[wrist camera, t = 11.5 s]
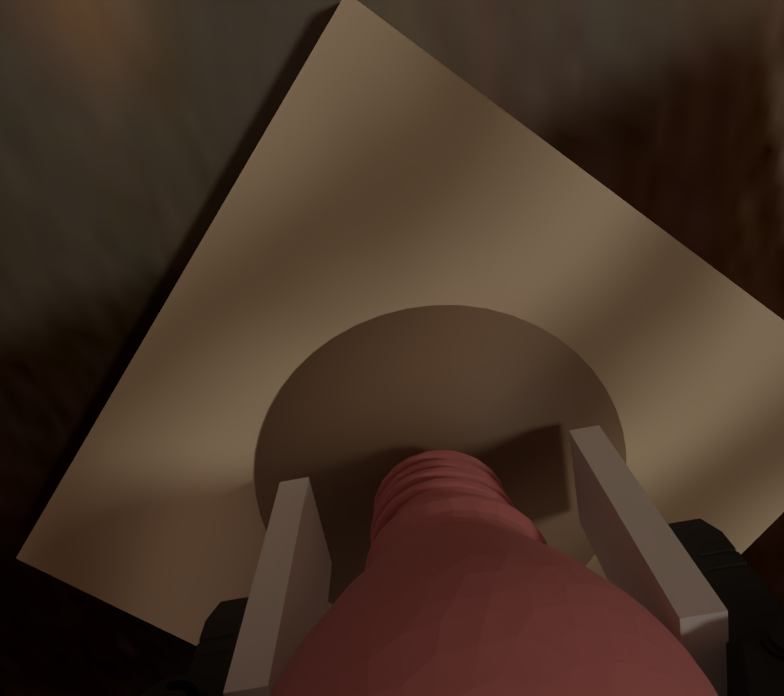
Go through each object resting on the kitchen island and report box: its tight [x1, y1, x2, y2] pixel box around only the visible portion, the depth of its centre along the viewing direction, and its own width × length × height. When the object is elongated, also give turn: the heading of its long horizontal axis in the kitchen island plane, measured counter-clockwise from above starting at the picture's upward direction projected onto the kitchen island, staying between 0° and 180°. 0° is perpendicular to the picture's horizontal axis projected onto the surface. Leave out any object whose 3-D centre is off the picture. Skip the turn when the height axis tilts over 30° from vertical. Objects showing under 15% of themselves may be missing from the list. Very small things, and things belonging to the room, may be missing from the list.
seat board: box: [16, 0, 784, 646], centre depth 18 cm, size 17×17×1 cm
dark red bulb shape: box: [272, 450, 718, 696], centre depth 12 cm, size 7×7×12 cm
